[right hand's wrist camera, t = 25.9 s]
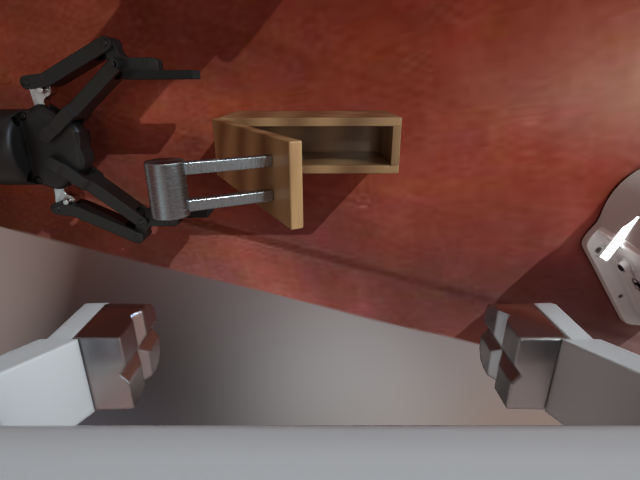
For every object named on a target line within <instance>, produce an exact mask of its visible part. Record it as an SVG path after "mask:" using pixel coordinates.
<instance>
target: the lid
mask: <svg viewBox="0 0 640 480" xmlns="http://www.w3.org/2000/svg"><path fill="white" fill-rule="evenodd" d="M212 122H213V133H214V144H215V155H216V159H203V160H191V161H184V159H181V158H157V159H151V160H147V161H145V162H144V168H145V175H146V181H147V188H148V194H149V201H150V207H151V214H152V218H153V219H156V220H162V221H169V220H177V219H182V218H185V217H187V216H189V215H190V212H191V211H199V210H206V209H214V208H221V207H229V206H237V205H244V204H252V203H256V204H257V205H258V206H260V207H261V208H263V209H264V210H265V211H267V212H268V213H269V214H271V215H272V216H273V217H275V218H276V219H277V220H279V221H280V222H281V223H283V224H284V225H286V226H287V227H288V228H290V229H291V230H294V229H300V228H303V187H302V142H301V141H300V140H297V139H293V138H290V137H286V136H282V135H279V134H275V133H271V132H268V131H264V130H261V129H257V128H253V127H250V126H246V125H242V124H239V123H235V122H232V121H228V120H224V119H221V118H217V119H212ZM212 172H217V175H218V176H219V177H221V178H222V179H223V180H225V181H226V182H227V183H229V184H230V185H231V186H233V187H234V188H235V189H237V190H238V191H240V192H235V193H226V194H218V195H209V196H201V197H192V198H189V195H188V187H187V178H186V175H191V174H201V173H212Z"/></svg>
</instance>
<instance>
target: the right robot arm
mask: <svg viewBox="0 0 640 480" xmlns="http://www.w3.org/2000/svg"><path fill="white" fill-rule="evenodd" d="M582 247H583V249H584V251H585V253H586V255H587V257H588V259H589V260H590V262H591V264H592V266H593V268H594V270H595V272H596V274H597V276H598V278H599V280H600V282H601V283H602V285H603V287H604V289H605V291H606V293H607V295H608V297H609V299H610V301H611V303H612V305H613V306H614V308H615V310H616V312H617V314H618V316H619V318H620V319H621V320H622V321H623V322H625V323H627V324H631V325H640V169H639V170H637V171H635V172H634V173H632V174H631V175H630V176H628V177H627V178H626V179H625V180H624V181H623V182H622V183H620V185H619V186H618V187H617V188H616V189H615V190H614V191H613V193H612V194H611V195H610V197H609V198H608V200H607V202H606V204H605V206H604V208H603V210H602V213H601V215H600V217H599V219H598V221H597V222H596V224H595V225H594V226H593V227H592V228H591V229H590V230H589V231H588V232H587V233H586V235H585V236H584V238H583V240H582ZM598 247H599V248H598ZM596 248H598V250H597V251H595V250H596ZM155 322H156V316H155V311H154V308H153V307H152V305H151V304H125V303H88V304H84V305H83V306H82V307H81V308H80V309H79V310H78V311H77V312H76V313H74V314H73V315H72V316H71V317H70V318H69V319H68V320H67V321H66V322H65V323H64V324H63V325H62V326H60V327H59V328H58V329H57V330H56V331H55V332H54V333H53V334H52V335H51V336H50V337H49V338H47V339H39V340H37V341H34V342H32V343H29V344H27V345H24V346H22V347H19V348H17V349H15V350H12V351H10V352H7V353H5V354H2V355H0V480H640V355H638V354H635V353H633V352H630V351H628V350H625V349H623V348H620V347H618V346H616V345H613V344H611V343H608V342H606V341H603V340H601V339H593V338H592V337H590V336H589V335H588V334H587V333H586V332H585V331H584V330H583V329H582V328H581V327H580V326H579V325H577V324H576V323H575V322H574V321H573V320H572V319H571V318H570V317H569V316H568V315H567V314H566V313H565V312H563V311H562V310H561V309H560V308H559V307H558V306H557V305H556V304H553V303H520V304H491V305H488V306H487V308H486V310H485V315H484V322H485V323H486V325H487V326H488V329H487V330H486V331H485V333H484V334H483V335H482V336H481V340H480V358H481V362H482V365H483V368H484V370H485V372H486V373H487V375H488V376H490V377H492V378H493V379H495V380H496V383H495V389H496V391H497V393H498V394H499V396H500V398H501V400H502V401H503V403H504V405H505V406H506V408H509V409H545V411H546V412H547V413H548V414H550V415H551V416H552V417H554V418H555V419H556V420H558V421H559V422H560V423H562V424H563V425H473V426H472V425H469V426H468V425H464V426H463V425H452V426H451V425H450V426H449V425H433V426H432V425H430V426H429V425H425V426H424V425H421V426H420V425H419V426H417V425H410V426H409V425H408V426H407V425H405V426H403V425H399V426H395V425H388V426H387V425H385V426H384V425H382V426H76V425H77V424H79V423H80V422H81V421H83V420H84V419H85V418H86V417H88V416H89V415H91V414H92V413H93V412H94V411H95V409H130V408H134V406H135V405H136V403H137V401H138V399H139V398H140V396H141V394H142V393H143V391H144V389H145V383H144V380H145V379H147V378H148V377H150V376H152V375H153V373H154V372H155V370H156V368H157V366H158V361H159V357H160V340H159V336H158V335H157V334H156V332H155V331H154V330H153V329H152V326H153V325H154V323H155Z"/></svg>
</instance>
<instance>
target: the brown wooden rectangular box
mask: <svg viewBox="0 0 640 480" xmlns="http://www.w3.org/2000/svg"><path fill="white" fill-rule="evenodd" d="M220 118H221V119H224V120H228V121H232V122H235V123H239V124H242V125H246V126H250V127H253V128H257V129H261V130H264V131H268V132H271V133H275V134H279V135H282V136H286V137H290V138H293V139H297V140H300V141H301V142H302V174H349V173H398V169H399V166H398V165H399V155H400V139H401V124H402V118H401V117H399V116H397V115H394V114H392V113H390V112H387V111H237V112H234V113H231V114H228V115H226V116H223V117H220Z"/></svg>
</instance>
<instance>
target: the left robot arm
mask: <svg viewBox="0 0 640 480" xmlns="http://www.w3.org/2000/svg"><path fill="white" fill-rule="evenodd" d="M105 60H108V61H107V62H106V64H105V65H104V66H103V67H102V68H101V69H100V70H99V71H98V72H97V73H96V75H95V76H94V77H93V78H92V79H91V80H90V81H89V82H88V83H87V85H86V86H85V87H84V88H83V89H82V90H81V91H80V92H79V93H78V95H77V96H76V97H75V98H74V99H73V100H72V101H71V102H70V103H69V104H68V105H66V106H65V107H63V108H62V109H61V110H60V109H58V108H57V107H55V106H54V105H51V104H50V102H49V100H50V98H51V97H52V96H54V95H55V94H56V92H57V88H56V87H60V86H63V85H65V84H67V83H69V82H71V81H72V80H74V79H76V78H77V77H79V76H80V75H82V74H84V73H85V72H87V71H89V70H90V69H92V68H94V67H95V66H97V65H98V64H100V63H102V62H103V61H105ZM122 79H133V80H142V79H200V71H195V70H163V63H162V60H160V59H157V58H152V57H134V58H129V57H127V56H126V55H125V53H124V51H123V49H122V43H121V42H120V40H118V39H115V38H110V37H106V36H101V37H99V38H97V39H96V40H94V41H92V42H91V43H89V44H88V45H86V46H84V47H83V48H81V49H80V50H78V51H76V52H75V53H73V54H72V55H70V56H68V57H67V58H65V59H63V60H62V61H60V62H59V63H57V64H55V65H54V66H52V67H51V68H49V69H47V70H46V71H44V72H43V73H41V74H33V75H26V76H22V77H21V78H20V84H21V86H22V87H23V88H25V89H29V90H30V93H31V96H32V99H33V102H34V105H35V106H33V107H32V108H30V109H0V184H4V185H29V184H44V185H48V186H50V187H52V188H54V191H55V200H56V203H54V204H52V205H51V211H52V212H53V213H54V214H57V215H67V216H74V217H76V218H79V219H81V220H83V221H86V222H88V223H90V224H93V225H95V226H98V227H100V228H102V229H105V230H107V231H109V232H112V233H114V234H116V235H119V236H121V237H123V238H126V239H128V240H130V241H133V242H135V243H141V242H143V241H144V240H145V239H146V238H147V237H148V236H149V235H150V234H151V232H152V230H151V227H152V226H175V225H178V224H179V223H180V222H181V221H182V220H183V218H182V219H177V220H169V221H162V220H156V219H153V218H152V214H151V207H149V208H147V207H145V206H144V205H143V204H141V203H140V202H139V201H137V200H136V199H134V198H133V197H132V196H130V195H129V194H127V193H126V192H125V191H123V190H122V189H120V188H119V187H118V186H116V185H115V184H113V183H112V182H111V181H109V180H108V179H106V178H105V177H104V175H103V173H102V172H100V171H99V170H97V169H96V168H95V167H93V166H92V164H93V161H95V157H94V153H93V151H92V149H91V146H90V141H91V137H90V132H89V131H87V130H86V128H85V127H84V125H83V123H84V122H85V121H86V120H87V119H88V118H89V117H90V116H91V114H92V111H93V110H94V109H95V108H96V107H97V106H98V105H99V104H100V103H101V102H102V101H103V100H104V98H105V97H106V96H107V95H108V94H109V93H110V92H111V91H112V90H113V89H114V88H115V87H116V86H117V84H118V83H119V82H120V81H121V80H122ZM72 184H74V185H75V186H77V187H78V188H80V189H82V190H87V191H88V192H90V193H91V194H93V195H94V196H95V197H97V198H98V199H100V200H101V201H103V202H104V203H105V204H107V205H108V206H110V207H111V208H113V209H114V210H115V211H117V212H118V213H116V212H114V211H112V210H109V209H107V208H105V207H102V206H100V205H98V204H95V203H93V202H91V201H88V200H84V199H80V196H79V195H78V194H75V193H72V192H71V191H70V190H69V187H68V186H70V185H72ZM213 210H214V209H206V210H199V211H191V212H190V215H189V216H187V217H208V216H209V215H210V214H211V213H212V211H213ZM119 213H120V214H119Z"/></svg>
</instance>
